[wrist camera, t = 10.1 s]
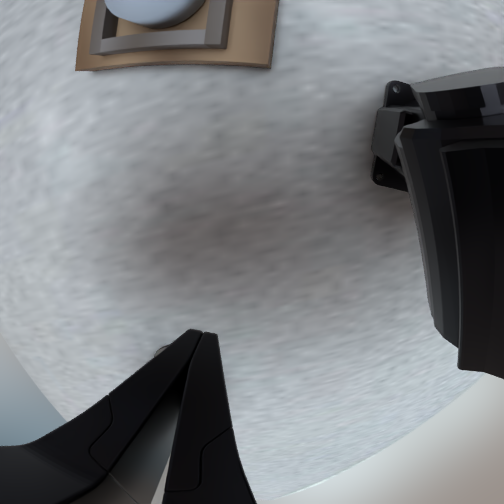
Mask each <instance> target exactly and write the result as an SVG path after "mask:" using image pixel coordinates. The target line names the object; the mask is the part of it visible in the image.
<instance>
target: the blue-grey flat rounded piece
mask: <svg viewBox="0 0 504 504" xmlns="http://www.w3.org/2000/svg"><path fill="white" fill-rule="evenodd" d="M204 1H205V0H105V3H106V6H107V8H108V9H109V10H110V12H111V13H113V14H114V15H115V16H117V17H119V18H122V19H125V20H128V21H131V22H133V23H136V24H139V25H141V26H144V27H147V28H154V29H156V28H166V27H170V26H173V25H176V24H178V23H180V22H182V21H184V20H186V19H187V18H189V17H190V16H191V15H193V14H194V13H195V12H196V11H197V10H198V9H199V8H200V7H201V5H202V4H203V3H204Z"/></svg>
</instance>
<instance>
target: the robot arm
mask: <svg viewBox="0 0 504 504" xmlns="http://www.w3.org/2000/svg"><path fill="white" fill-rule="evenodd" d="M393 85H396V86H397V87H398V92H397V93H396V92H394V91H393V88H392V87H393ZM371 149H372V151H373V153H374V154H375V157H374V162H373V167H372V171H371V178H372V180H373V181H374V182H375V184H377V185H381V186H385V187H390V188H394V189H398V190H402V191H406V192H409V195H410V199H411V203H412V208H413V212H414V217H415V221H416V226H417V231H418V236H419V242H420V247H421V253H422V259H423V266H424V272H425V280H426V287H427V296H428V302H429V306H430V310H431V315H432V317H433V319H434V325H435V327H436V329H437V330H438V331H439V333H440V334H441V335H442V336H443V337H444V338H445V339H446V340H448V341H449V342H450V343H452V344H453V345H454V346H456V347H457V348H458V363H457V367H458V368H459V369H460V370H468V371H478V372H485V373H488V374H491V375H494V376H497V377H500V378H502V379H504V67H492V68H485V69H479V70H473V71H468V72H463V73H458V74H453V75H448V76H444V77H439V78H435V79H431V80H427V81H423V82H419V83H415V84H411V85H409V84H406V83H403V82H400V81H395V80H394V81H390V82H389V83H388V84H387V88H386V95H385V101H384V107H382V108H380V109H379V110H378V114H377V120H376V125H375V131H374V137H373V142H372V147H371ZM378 173H382V178H381V179H376V176H377V174H378ZM232 427H233V426H232V420H231V415H230V409H229V403H228V397H227V391H226V385H225V379H224V373H223V367H222V360H221V354H220V347H219V340H218V335H217V334H215V333H210V332H204V333H203V332H202V331H200V330H195V329H189V330H187V331H186V332H185V333H184V334H182V335H181V336H180V337H179V338H177V339H176V340H175V341H174V342H172V343H171V344H170V345H169V346H168V347H166V348H165V349H164V350H163V351H161V352H160V353H159V354H158V355H156V356H155V357H154V358H153V359H151V360H150V361H149V362H148V363H146V364H145V365H144V366H143V367H141V368H140V369H139V370H138V371H136V372H135V373H134V374H133V375H131V376H130V377H129V378H128V379H126V380H125V381H124V382H123V383H121V384H120V385H119V386H118V387H116V388H115V389H114V390H113V391H111V392H110V393H109V395H106V396H105V397H103V398H102V399H101V400H100V401H98V402H97V403H96V404H94V405H93V406H92V407H90V408H89V409H87V410H86V411H85V412H83V413H82V414H80V415H78V416H77V417H75V418H74V419H72V420H71V421H69V422H67V423H65V424H64V425H62V426H60V427H59V428H57V429H55V430H53V431H52V432H50V433H48V434H46V435H45V436H43V437H41V438H39V439H37V440H35V441H33V442H30V443H27V444H24V445H17V446H0V504H151V502H152V500H153V497H154V495H155V492H156V490H157V487H158V485H159V482H160V480H161V477H162V474H163V472H164V469H165V467H166V464H167V462H168V459H169V457H170V461H169V466H168V471H167V477H166V482H165V488H164V492H165V493H164V494H163V499H162V504H257V503H256V500H255V498H254V495H253V493H252V491H251V488H250V486H249V483H248V480H247V478H246V475H245V473H244V470H243V467H242V464H241V461H240V458H239V454H238V450H237V445H236V441H235V436H234V430H233V428H232ZM170 454H171V455H170Z"/></svg>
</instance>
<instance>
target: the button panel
mask: <svg viewBox="0 0 504 504" xmlns="http://www.w3.org/2000/svg"><path fill="white" fill-rule="evenodd" d="M278 4H279V0H205V1H204V3H203V4H202V5H201V7H200V8H199V9H198V10H197V11H196V12H195V13H194V14H193V15H191V16H190V17H189V18H187V19H186V20H184V21H182V22H180V23H178V24H176V25H173V26H170V27H166V28H156V29H154V28H147V27H144V26H141V25H139V24H136V23H133V22H131V21H128V20H125V19H122V18H119V17H117V16H115V15H114V14H113V13H111V12H110V10H109V9H108V8H107V6H106V3H105V0H85V2H84V7H83V13H82V18H81V25H80V32H79V39H78V47H77V57H76V68H75V71H97V70H105V69H113V68H122V67H133V66H147V65H168V64H214V65H236V66H250V67H261V68H270V69H271V61H272V53H273V45H274V37H275V29H276V21H277V12H278Z"/></svg>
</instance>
